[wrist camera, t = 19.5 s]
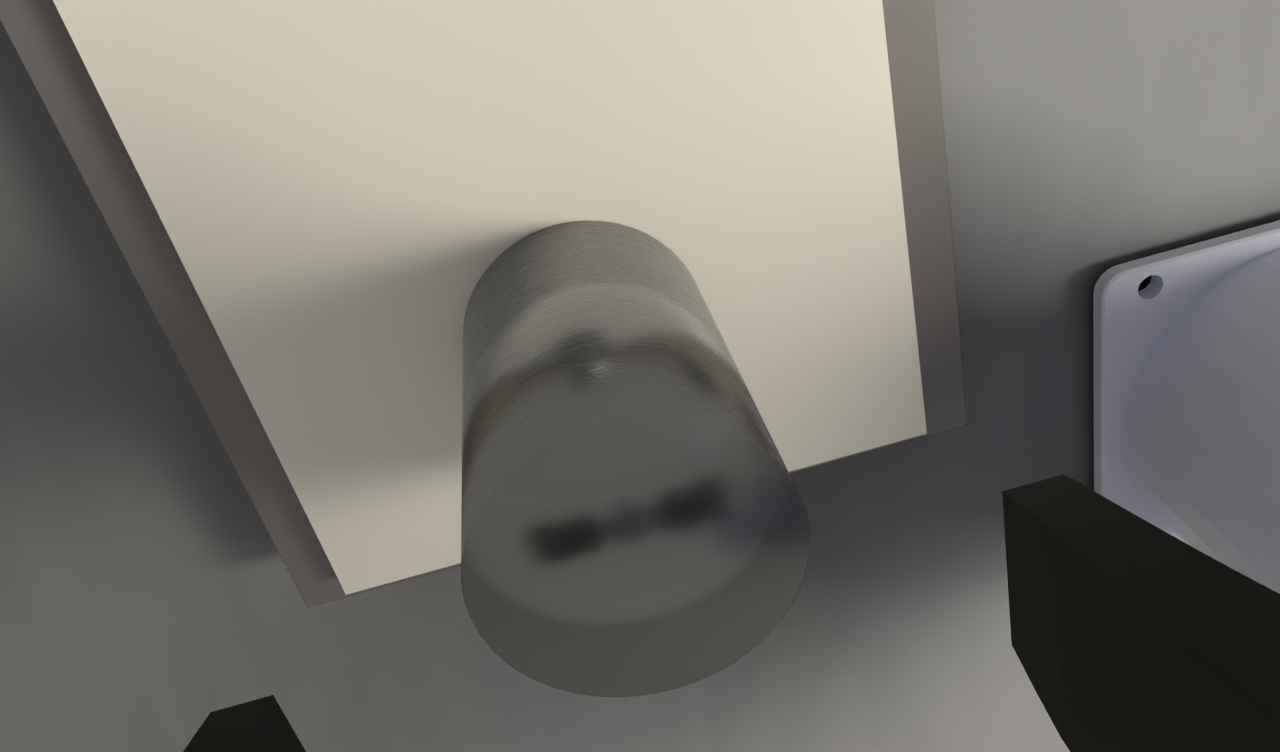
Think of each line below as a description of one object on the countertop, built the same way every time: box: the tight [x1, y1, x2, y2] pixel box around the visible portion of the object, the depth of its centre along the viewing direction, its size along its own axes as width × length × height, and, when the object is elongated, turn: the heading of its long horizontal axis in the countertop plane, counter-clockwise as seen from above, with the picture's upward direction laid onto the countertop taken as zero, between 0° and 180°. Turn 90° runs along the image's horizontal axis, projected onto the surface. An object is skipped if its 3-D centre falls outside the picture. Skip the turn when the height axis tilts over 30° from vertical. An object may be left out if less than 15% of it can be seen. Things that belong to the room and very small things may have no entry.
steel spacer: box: [461, 220, 810, 697], centre depth 14 cm, size 4×4×6 cm
